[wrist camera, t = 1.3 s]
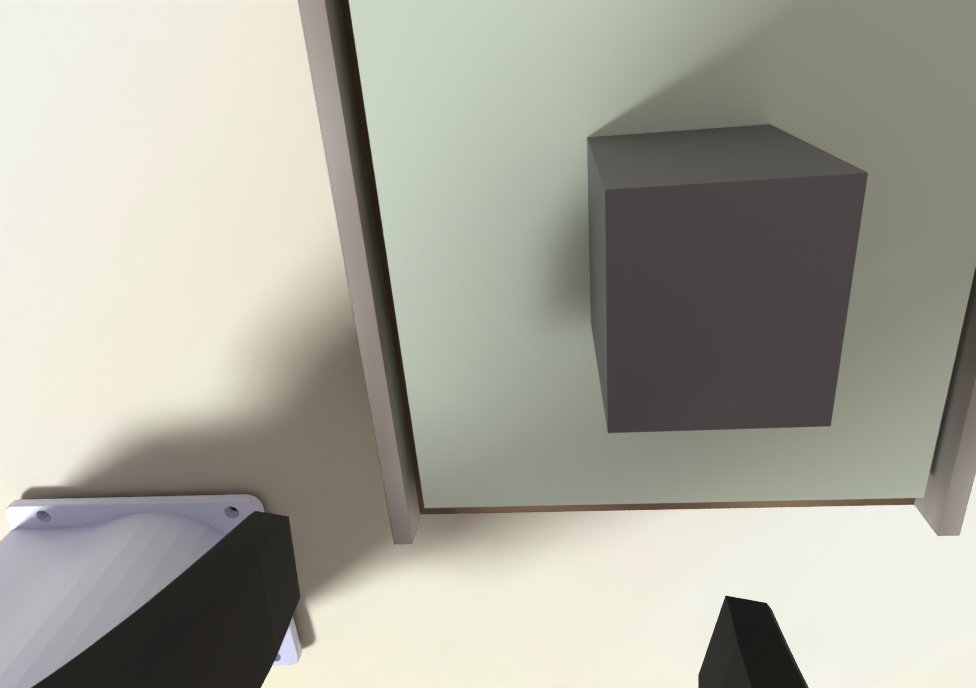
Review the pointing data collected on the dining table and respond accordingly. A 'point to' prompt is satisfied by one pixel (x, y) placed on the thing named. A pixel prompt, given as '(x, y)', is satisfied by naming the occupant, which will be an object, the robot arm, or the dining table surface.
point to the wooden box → (339, 99)
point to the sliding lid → (673, 242)
